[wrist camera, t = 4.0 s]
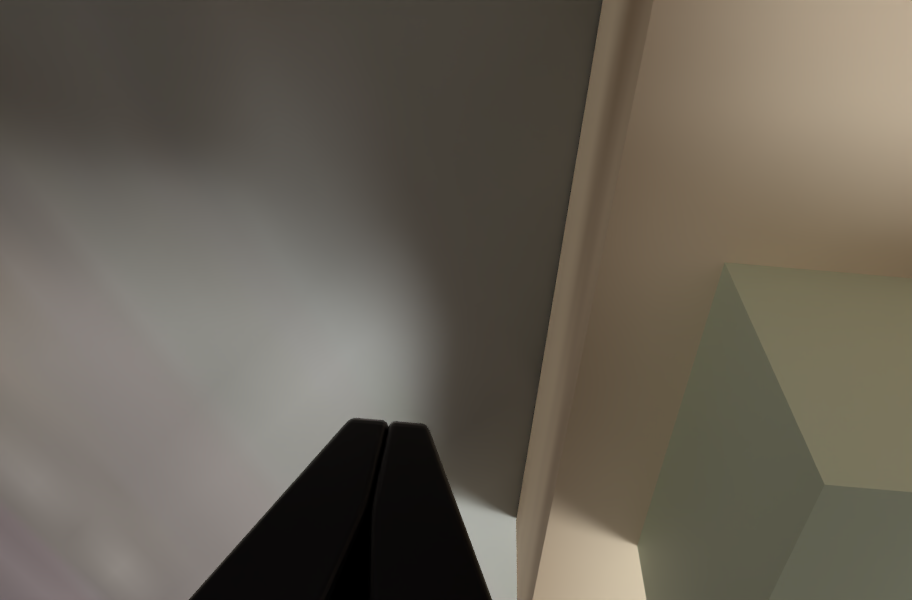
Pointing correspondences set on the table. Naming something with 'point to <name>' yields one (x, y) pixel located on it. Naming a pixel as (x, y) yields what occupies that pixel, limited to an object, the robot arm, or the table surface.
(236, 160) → the table surface
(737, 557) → the sage block
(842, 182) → the birch board
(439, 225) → the table surface
